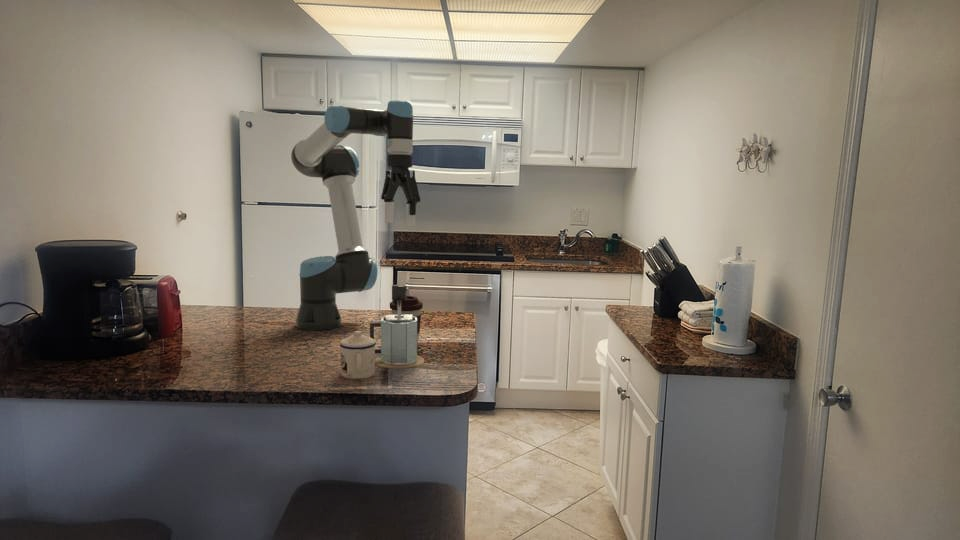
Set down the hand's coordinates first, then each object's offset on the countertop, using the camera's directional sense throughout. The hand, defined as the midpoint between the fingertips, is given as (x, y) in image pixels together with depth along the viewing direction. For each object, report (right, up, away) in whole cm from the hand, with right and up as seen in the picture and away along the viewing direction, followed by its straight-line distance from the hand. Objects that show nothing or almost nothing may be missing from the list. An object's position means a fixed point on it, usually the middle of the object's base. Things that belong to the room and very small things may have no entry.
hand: (399, 224), depth 185 cm
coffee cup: (+2, -37, 0) cm, 37 cm away
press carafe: (+1, -39, -17) cm, 43 cm away
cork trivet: (+2, -40, -17) cm, 43 cm away
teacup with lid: (-7, -42, -30) cm, 52 cm away
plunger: (+2, -37, -17) cm, 41 cm away
